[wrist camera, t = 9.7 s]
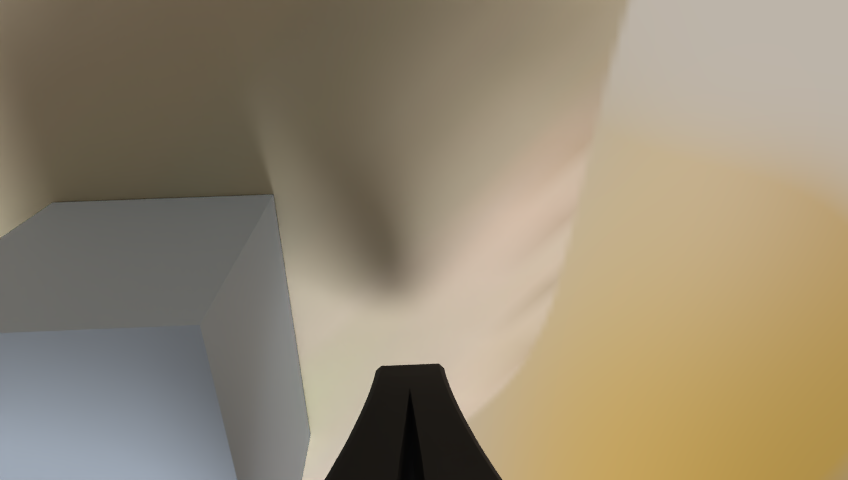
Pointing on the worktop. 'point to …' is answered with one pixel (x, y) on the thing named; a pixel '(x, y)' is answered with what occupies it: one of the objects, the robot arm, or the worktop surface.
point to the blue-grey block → (149, 344)
